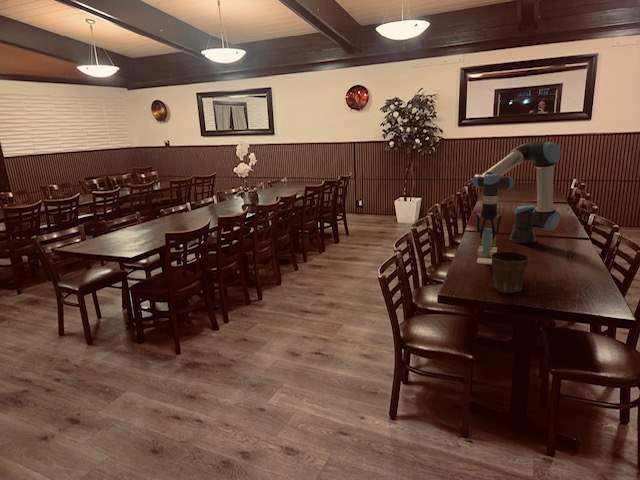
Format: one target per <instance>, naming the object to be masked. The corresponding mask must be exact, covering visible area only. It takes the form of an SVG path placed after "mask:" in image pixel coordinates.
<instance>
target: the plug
mask: <svg viewBox="0 0 640 480" xmlns="http://www.w3.org/2000/svg"><path fill="white" fill-rule="evenodd" d="M483 232H484V237H483V251H482V254H490V246H491V245H490V243H491V233H493V232H492V227H490V228H489V227H484V229H483Z"/></svg>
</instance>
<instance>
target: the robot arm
mask: <svg viewBox="0 0 640 480" xmlns="http://www.w3.org/2000/svg"><path fill="white" fill-rule="evenodd" d="M561 155H562V152H561V146H560V145H559V144H558V143H556V142H554V141H529V142H526V143H522V144H520V145H518V146H517V147H514V149H511V151H509V153H508V155H507V156H505V157H504V158H503V159H501V160H499V162H497V163H496V164H495V165H493V166H492V167H491V168H489V169H488V170H486V171H484V173H482V174H475V175H474V176H473V177H472V181H471V182H472V186H473V187H475V188H479V189H482V190H483V193H482V205H481V212H480V213H476V214H475V216H476V232H478V233H479V239H480V238H482V245H483V237H484V232H483V229H484V228H485V226H486V222H487V221H490V223H491V228H492V233H491V243H490V245H492V239H495V238H496V234H498V233H499V231H500V224H501V219H502V217H503V215H502V214H499V213H498V204H497V203H498V201H499V200H498V197H499V192H501V191H508V190H511V189H513V187H514V184H515V181H514V178H513V177H511V176H510V175H509V176H508V175H507V176H506V175H505V174H507V173H508V172H509V171H510V170H512V169H513V168H515V167H516V166H517V165H521V164H523V163H527V162H533V167H534V168H535V169H536V200H537V202H536V203H537V206H536V205H522V206H521V205H520V206H517V207H516V208H515V211H514V219H513V220H514V223H513V229H512V232H511V234H510V236H509V241H511V242H512V243H517V244H534V243H536V235H535V231H534V229H535V228H536V229H540V230H544V231H545V230H546V231H553V230H555V229H556V228H557V227H558V225H559V223H560V221H561V213H560V212H558V211H557V208H556V206H555V205H554V167H555V166H556V165H557V163H558V162H559V161H560V158H561ZM481 217H482V218H483V221H482V225H481V223H480V221H481V220H480V219H481ZM495 218H497V223H496V228H495V221H494V220H495ZM480 226H481V228H480Z"/></svg>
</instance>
